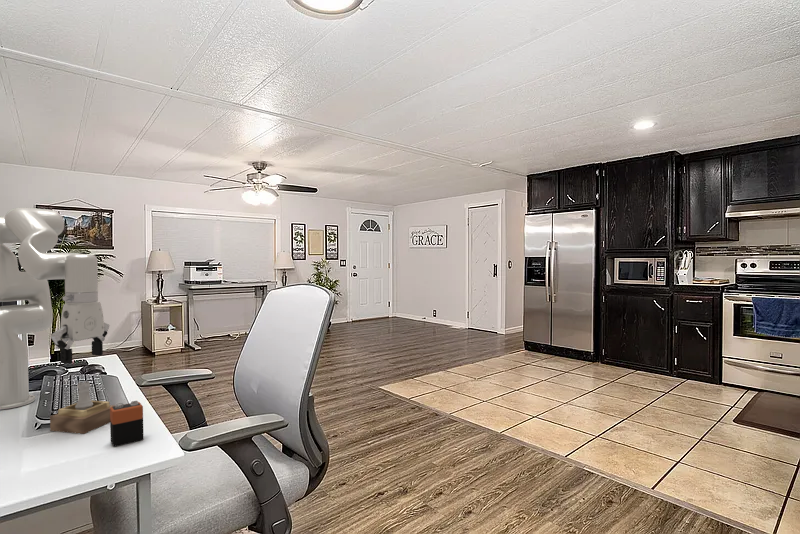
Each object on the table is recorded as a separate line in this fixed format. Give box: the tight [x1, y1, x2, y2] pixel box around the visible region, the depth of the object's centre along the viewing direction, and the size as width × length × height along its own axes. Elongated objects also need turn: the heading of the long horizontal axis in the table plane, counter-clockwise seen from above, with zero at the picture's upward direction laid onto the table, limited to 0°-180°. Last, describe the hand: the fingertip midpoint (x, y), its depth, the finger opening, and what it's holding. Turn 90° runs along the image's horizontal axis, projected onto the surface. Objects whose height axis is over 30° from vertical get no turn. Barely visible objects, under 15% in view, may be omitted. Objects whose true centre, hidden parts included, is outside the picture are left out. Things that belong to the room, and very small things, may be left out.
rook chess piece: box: [75, 380, 94, 410], centre depth 128 cm, size 4×4×8 cm
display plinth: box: [49, 400, 114, 435], centre depth 128 cm, size 11×11×6 cm
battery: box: [109, 400, 144, 447], centre depth 117 cm, size 4×7×10 cm, turn 130°
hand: (82, 358), depth 128 cm, fingers open, 9 cm apart
